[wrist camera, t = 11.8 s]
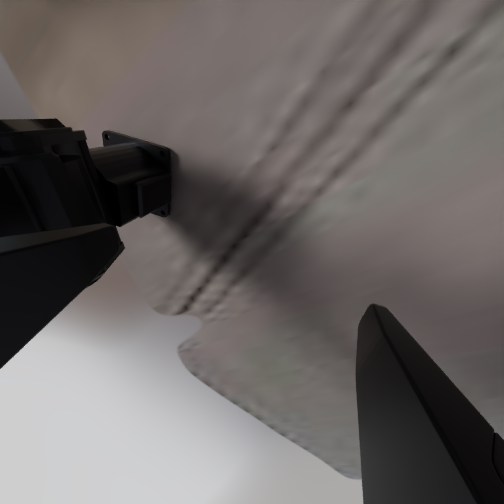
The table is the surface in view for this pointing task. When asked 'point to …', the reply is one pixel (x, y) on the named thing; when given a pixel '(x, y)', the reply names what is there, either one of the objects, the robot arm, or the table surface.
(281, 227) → the table surface
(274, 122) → the table surface
